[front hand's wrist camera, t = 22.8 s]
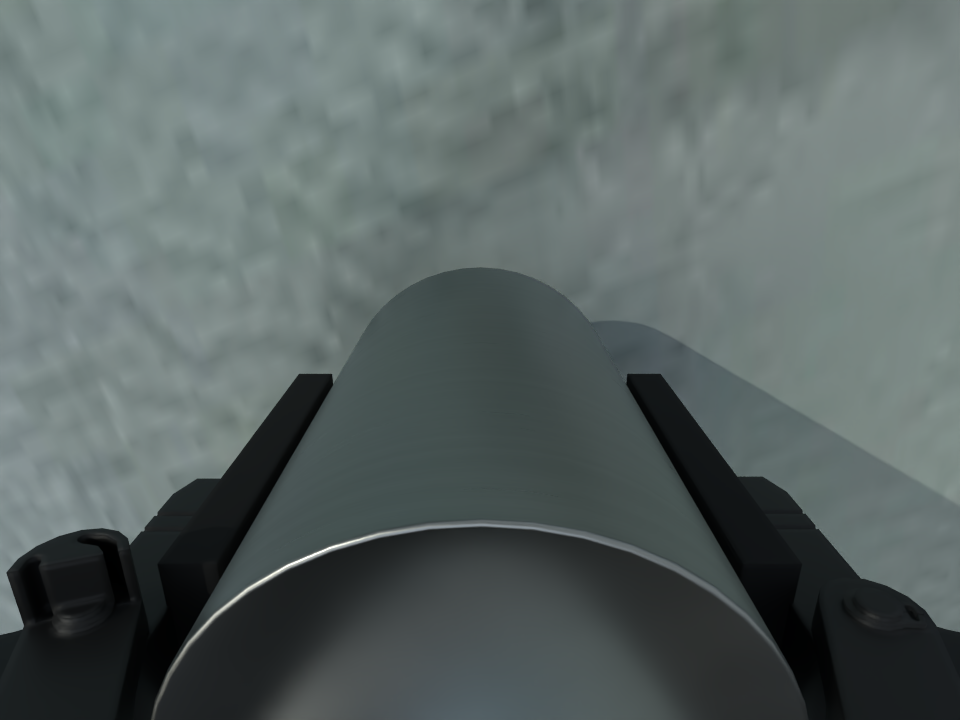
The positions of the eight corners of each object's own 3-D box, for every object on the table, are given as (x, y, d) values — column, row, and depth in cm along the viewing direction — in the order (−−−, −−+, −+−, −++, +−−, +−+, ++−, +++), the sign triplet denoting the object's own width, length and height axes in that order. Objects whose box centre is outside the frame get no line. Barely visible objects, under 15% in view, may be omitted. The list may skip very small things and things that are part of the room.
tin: (582, 235, 14) (785, 441, 5) (630, 476, 17) (834, 941, 7) (312, 306, 15) (14, 614, 5) (394, 528, 17) (288, 1022, 8)
